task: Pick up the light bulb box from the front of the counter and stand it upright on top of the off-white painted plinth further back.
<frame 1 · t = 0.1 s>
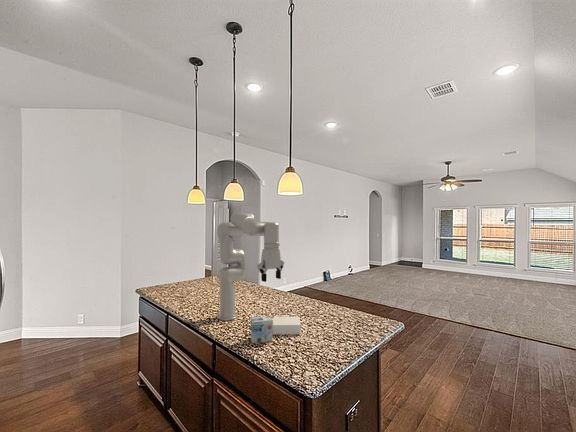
hand: (271, 279, 143), 31 cm above the worktop, tool pointing down, fingers open, 9 cm apart
plinth: (286, 329, 157), on the worktop
light bulb box: (261, 340, 144), on the worktop
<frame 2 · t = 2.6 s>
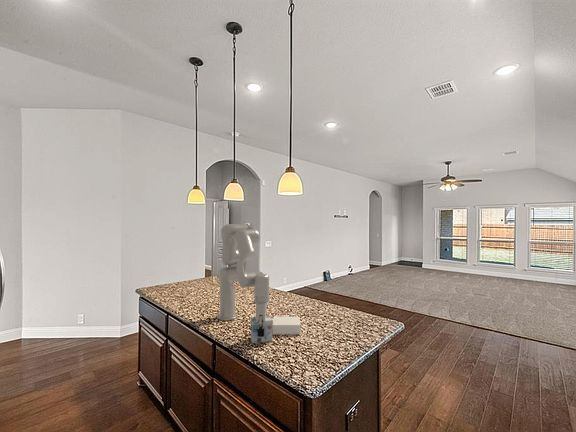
hand: (261, 332, 144), 3 cm above the worktop, tool pointing down, fingers closed on light bulb box, 7 cm apart
light bulb box: (261, 340, 144), on the worktop, touching gripper
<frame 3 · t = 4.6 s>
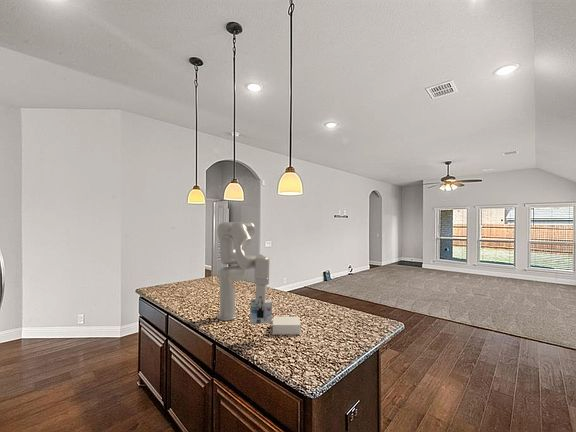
hand: (260, 314, 145), 13 cm above the worktop, tool pointing down, fingers closed on light bulb box, 7 cm apart
light bulb box: (260, 321, 145), point 9 cm above the worktop, touching gripper
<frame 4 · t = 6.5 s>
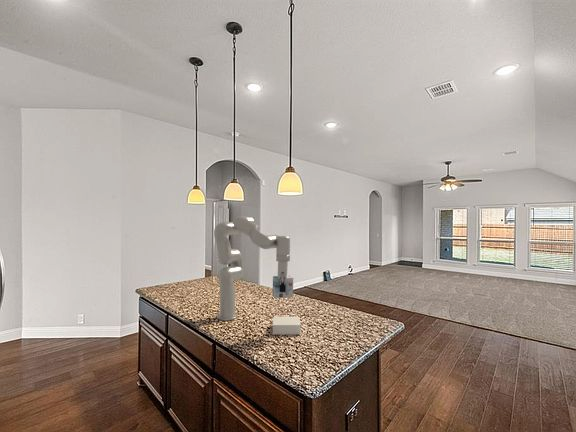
hand: (282, 289, 155), 23 cm above the worktop, tool pointing down, fingers closed on light bulb box, 7 cm apart
light bulb box: (282, 296, 155), point 19 cm above the worktop, touching gripper
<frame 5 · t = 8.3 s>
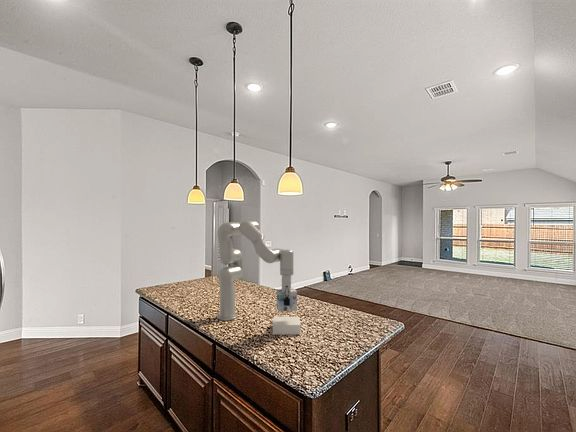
hand: (286, 303, 157), 15 cm above the worktop, tool pointing down, fingers closed on light bulb box, 7 cm apart
light bulb box: (286, 309, 157), point 11 cm above the worktop, touching gripper
when the fingers open (10 cm above the worktop, at t = 9.9 s): light bulb box drops 1 cm, resting on plinth.
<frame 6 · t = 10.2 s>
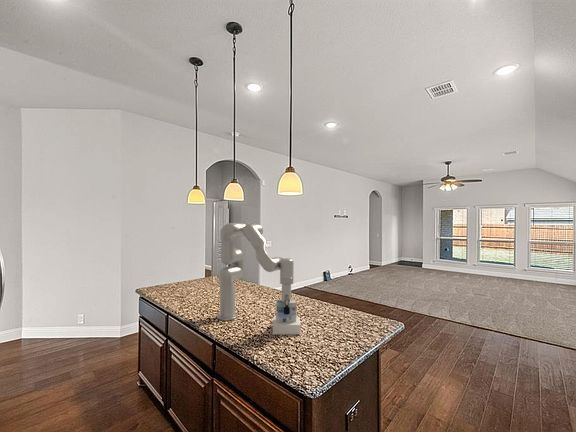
hand: (286, 311, 157), 10 cm above the worktop, tool pointing down, fingers open, 9 cm apart
light bulb box: (286, 320, 157), point 5 cm above the worktop, touching plinth
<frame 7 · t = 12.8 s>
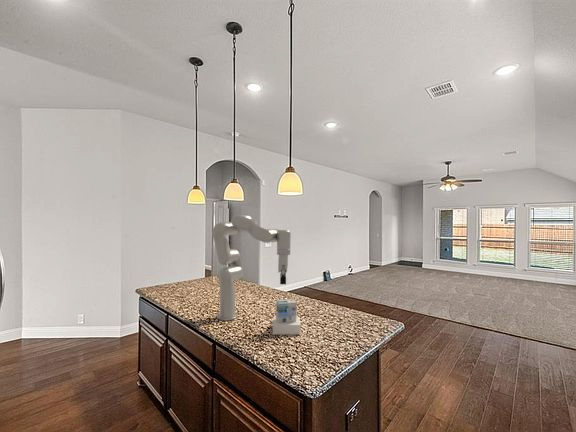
hand: (283, 282, 158), 26 cm above the worktop, tool pointing down, fingers open, 9 cm apart
nothing on the worktop moved.
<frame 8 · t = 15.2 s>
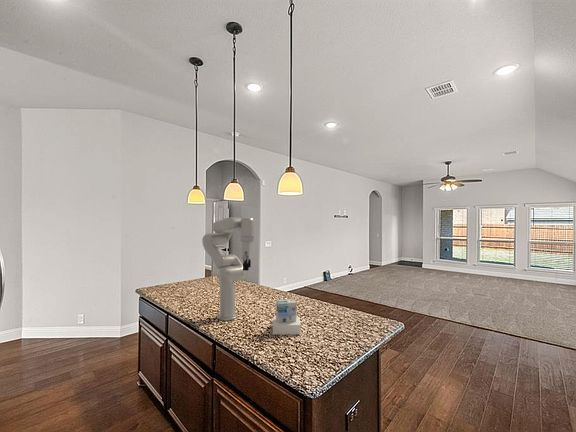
hand: (246, 268, 161), 33 cm above the worktop, tool pointing down, fingers open, 9 cm apart
nothing on the worktop moved.
at the end: light bulb box inside the target area on the plinth (0.5 cm from its centre), point 4.8 cm above the plinth's base; light bulb box tilted 0°; the gripper is holding nothing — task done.
